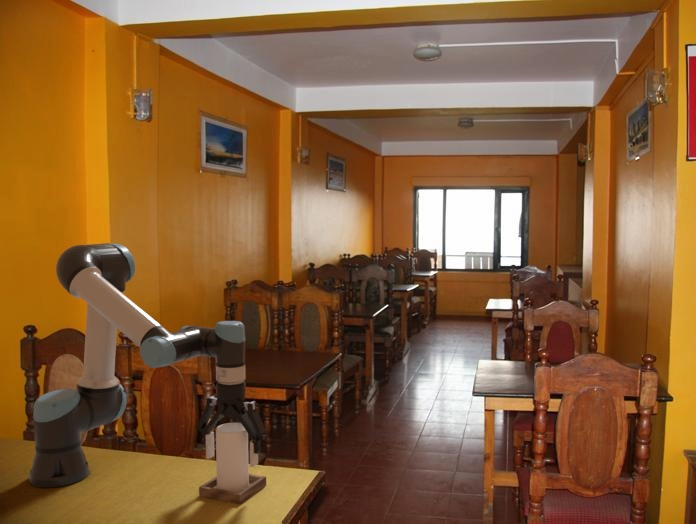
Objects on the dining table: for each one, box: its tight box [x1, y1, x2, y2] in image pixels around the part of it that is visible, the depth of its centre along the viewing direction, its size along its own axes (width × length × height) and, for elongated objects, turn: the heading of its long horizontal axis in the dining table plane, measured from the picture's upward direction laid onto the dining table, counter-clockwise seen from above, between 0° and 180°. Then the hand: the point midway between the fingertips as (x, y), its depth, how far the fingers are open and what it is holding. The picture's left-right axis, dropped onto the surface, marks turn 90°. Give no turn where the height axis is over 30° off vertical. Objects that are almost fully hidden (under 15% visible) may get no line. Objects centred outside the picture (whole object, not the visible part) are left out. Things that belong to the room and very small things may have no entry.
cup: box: [215, 422, 250, 493], centre depth 171 cm, size 8×8×16 cm
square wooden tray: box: [198, 473, 267, 505], centre depth 171 cm, size 12×12×2 cm
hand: (231, 461), depth 171 cm, fingers open, 13 cm apart
